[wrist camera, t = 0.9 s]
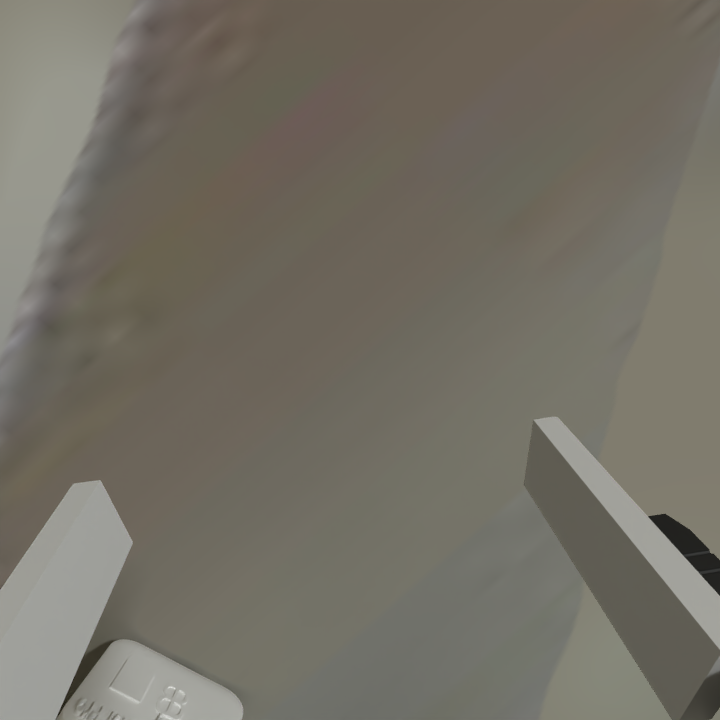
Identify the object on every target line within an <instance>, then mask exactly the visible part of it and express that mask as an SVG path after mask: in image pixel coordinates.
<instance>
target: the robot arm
mask: <svg viewBox="0 0 720 720" xmlns="http://www.w3.org/2000/svg"><path fill="white" fill-rule="evenodd" d="M524 486H525V487H526V489H527V490H528V492H529V493H530V495H531V497H532V498H533V500H534V501H535V503H536V505H537V506H538V508H539V509H540V511H541V513H542V514H543V516H544V517H545V519H546V520H547V522H548V524H549V525H550V527H551V528H552V530H553V532H554V533H555V535H556V536H557V538H558V539H559V541H560V543H561V544H562V546H563V547H564V549H565V551H566V552H567V554H568V555H569V557H570V559H571V560H572V562H573V563H574V565H575V566H576V568H577V570H578V571H579V573H580V574H581V576H582V578H583V579H584V581H585V582H586V584H587V586H588V587H589V589H590V590H591V592H592V593H593V595H594V596H595V598H596V600H597V601H598V603H599V604H600V606H601V608H602V609H603V611H604V612H605V614H606V616H607V617H608V619H609V620H610V622H611V623H612V625H613V627H614V628H615V630H616V632H617V633H618V635H619V636H620V638H621V639H622V641H623V642H624V644H625V645H626V647H627V649H628V650H629V652H630V654H631V655H632V657H633V658H634V660H635V662H636V663H637V665H638V666H639V668H640V670H641V671H642V673H643V674H644V676H645V678H646V679H647V681H648V682H649V684H650V685H651V687H652V689H653V690H654V692H655V693H656V695H657V697H658V698H659V700H660V701H661V703H662V704H663V706H664V708H665V709H666V711H667V712H668V714H669V716H670V717H671V719H672V720H709V719H712V718H713V716H714V715H715V713H716V712H717V711H718V709H719V708H720V560H719V559H718V558H717V557H716V556H715V555H714V554H711V553H710V551H709V549H708V548H707V547H706V546H705V545H704V544H703V543H702V542H701V541H700V540H699V539H698V538H697V537H696V536H695V534H694V533H693V532H692V531H691V530H690V529H688V528H686V527H685V526H683V525H682V524H680V523H679V522H677V521H675V520H674V519H672V518H671V517H669V516H668V515H666V514H661V515H655V516H647V515H646V514H645V513H644V512H643V511H642V510H641V509H640V507H639V506H638V505H637V504H636V503H635V502H634V501H633V500H632V499H631V498H630V496H629V495H628V494H627V493H626V492H625V491H624V490H623V489H622V488H621V487H620V486H619V484H618V483H617V482H616V481H615V480H614V479H613V478H612V477H611V475H609V473H608V472H607V471H606V470H605V469H604V468H603V467H602V466H601V464H600V463H599V462H598V461H597V460H596V459H595V458H594V457H593V456H592V455H591V453H590V452H589V451H588V450H587V449H586V448H585V447H584V446H583V445H582V444H581V442H580V441H579V440H578V439H577V438H576V437H575V436H574V435H573V434H572V432H571V431H570V430H569V429H568V428H567V427H566V426H565V425H564V424H563V423H562V421H561V420H560V419H559V418H558V417H557V416H556V417H549V418H542V419H535V420H533V425H532V432H531V439H530V446H529V452H528V459H527V466H526V473H525V480H524ZM132 543H133V542H132V540H131V538H130V536H129V534H128V532H127V530H126V528H125V526H124V525H123V523H122V521H121V519H120V517H119V515H118V513H117V511H116V509H115V507H114V505H113V503H112V502H111V500H110V498H109V496H108V494H107V492H106V490H105V488H104V486H103V484H102V482H101V480H97V481H89V482H82V483H75V484H73V485H72V486H71V488H70V489H69V491H68V492H67V494H66V495H65V497H64V498H63V499H62V501H61V502H60V504H59V505H58V507H57V508H56V510H55V511H54V513H53V514H52V515H51V517H50V518H49V520H48V521H47V523H46V524H45V526H44V527H43V529H42V530H41V532H40V533H39V534H38V536H37V537H36V539H35V540H34V542H33V543H32V545H31V546H30V548H29V549H28V550H27V552H26V553H25V555H24V556H23V558H22V559H21V561H20V562H19V564H18V565H17V566H16V568H15V569H14V571H13V572H12V574H11V575H10V577H9V578H8V580H7V581H6V582H5V584H4V585H3V587H2V588H1V590H0V720H56V717H57V715H58V713H59V710H60V708H61V706H62V704H63V701H64V699H65V697H66V694H67V692H68V690H69V688H70V685H71V683H72V681H73V678H74V676H75V674H76V672H77V669H78V667H79V665H80V662H81V660H82V658H83V656H84V653H85V651H86V649H87V646H88V644H89V642H90V640H91V637H92V635H93V633H94V630H95V628H96V626H97V624H98V621H99V619H100V617H101V614H102V612H103V610H104V608H105V605H106V603H107V601H108V598H109V596H110V594H111V592H112V589H113V587H114V585H115V582H116V580H117V578H118V575H119V573H120V571H121V569H122V566H123V564H124V562H125V559H126V557H127V555H128V553H129V550H130V548H131V546H132Z"/></svg>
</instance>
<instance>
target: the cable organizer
mask: <svg viewBox="0 0 720 720" xmlns="http://www.w3.org/2000/svg"><path fill="white" fill-rule="evenodd" d="M242 716H243V706H242V704H241V702H240V700H239V699H238V697H237V696H236V695H235V694H234V693H233V692H231V691H230V690H228V689H227V688H225V687H223V686H221V685H219V684H217V683H215V682H213V681H211V680H209V679H207V678H206V677H204V676H202V675H200V674H198V673H196V672H194V671H192V670H190V669H188V668H186V667H184V666H183V665H181V664H179V663H177V662H175V661H173V660H171V659H169V658H167V657H165V656H163V655H161V654H159V653H158V652H156V651H154V650H152V649H150V648H148V647H146V646H144V645H142V644H140V643H138V642H136V641H132V640H127V639H120V640H116V641H114V642H112V643H111V644H110V645H109V647H108V648H107V649H106V651H105V652H104V654H103V655H102V656H101V658H100V659H99V660H98V662H97V663H96V664H95V666H94V667H93V668H92V670H91V671H90V672H89V674H88V675H87V676H86V678H85V679H84V680H83V682H82V683H81V684H80V686H79V687H78V689H77V690H76V691H75V693H74V694H73V695H72V697H71V698H70V699H69V701H68V702H67V703H66V705H65V706H64V708H63V709H62V711H61V713H60V714H59V716H58V717H57V719H56V720H242Z"/></svg>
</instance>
